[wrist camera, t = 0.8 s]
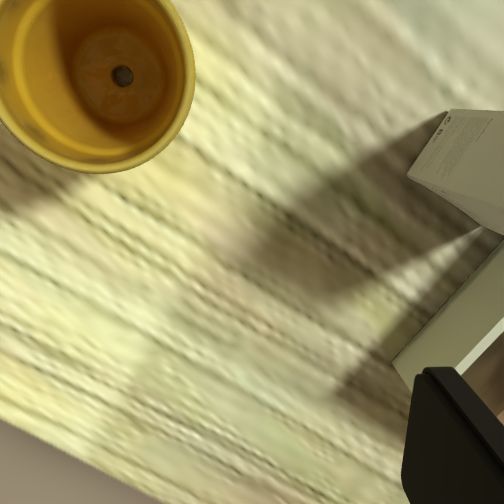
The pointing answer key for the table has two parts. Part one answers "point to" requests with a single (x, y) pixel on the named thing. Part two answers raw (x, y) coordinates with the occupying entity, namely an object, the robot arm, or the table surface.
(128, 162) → the plant pot
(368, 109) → the table surface
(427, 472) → the robot arm
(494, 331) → the tray
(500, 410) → the walnut block
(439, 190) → the skincare box
